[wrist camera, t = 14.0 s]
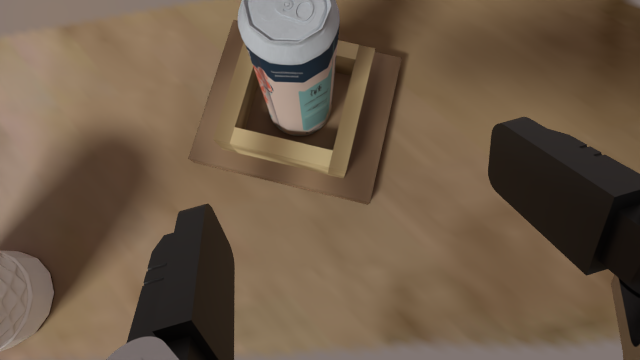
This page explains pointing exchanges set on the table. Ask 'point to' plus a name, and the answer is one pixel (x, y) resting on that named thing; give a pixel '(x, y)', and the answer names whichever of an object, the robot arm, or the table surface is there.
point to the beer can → (293, 58)
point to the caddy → (300, 151)
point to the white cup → (22, 297)
